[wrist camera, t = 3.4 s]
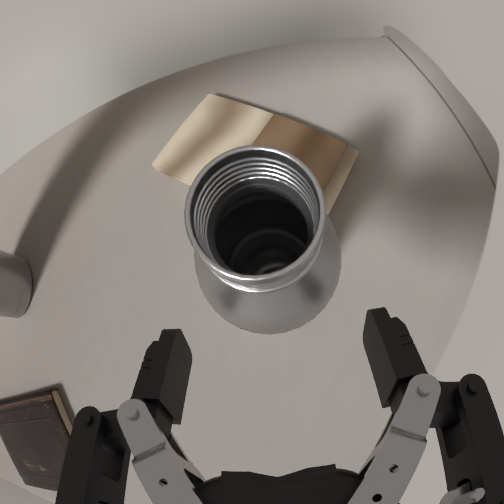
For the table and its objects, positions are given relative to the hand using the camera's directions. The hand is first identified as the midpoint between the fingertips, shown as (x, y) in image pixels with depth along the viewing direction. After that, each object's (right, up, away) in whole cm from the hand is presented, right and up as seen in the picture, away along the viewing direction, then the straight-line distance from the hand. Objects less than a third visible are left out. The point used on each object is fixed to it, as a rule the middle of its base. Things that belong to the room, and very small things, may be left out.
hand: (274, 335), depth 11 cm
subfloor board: (-1, +14, +18) cm, 23 cm away
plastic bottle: (+1, 0, +15) cm, 15 cm away
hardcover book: (-33, -26, +13) cm, 44 cm away
